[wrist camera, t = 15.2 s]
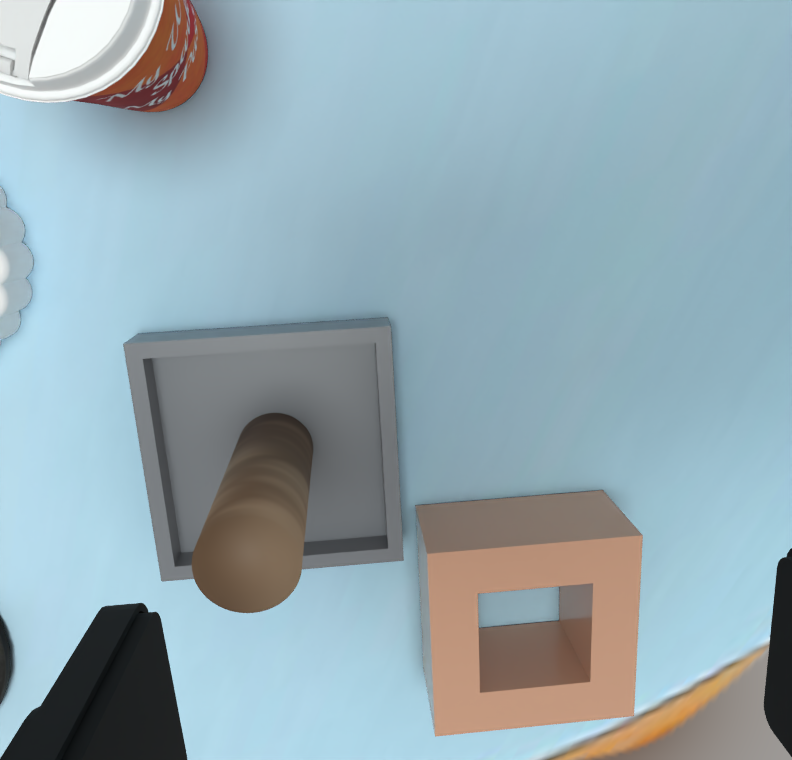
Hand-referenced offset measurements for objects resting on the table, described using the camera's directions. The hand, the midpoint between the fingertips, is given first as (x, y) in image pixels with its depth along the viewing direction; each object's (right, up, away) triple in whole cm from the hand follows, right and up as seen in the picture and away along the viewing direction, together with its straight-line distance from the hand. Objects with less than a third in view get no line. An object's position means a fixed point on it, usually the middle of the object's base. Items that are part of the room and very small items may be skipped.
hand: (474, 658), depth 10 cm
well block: (+6, -8, +31) cm, 32 cm away
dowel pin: (-8, +1, +27) cm, 28 cm away
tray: (-8, +1, +27) cm, 29 cm away
